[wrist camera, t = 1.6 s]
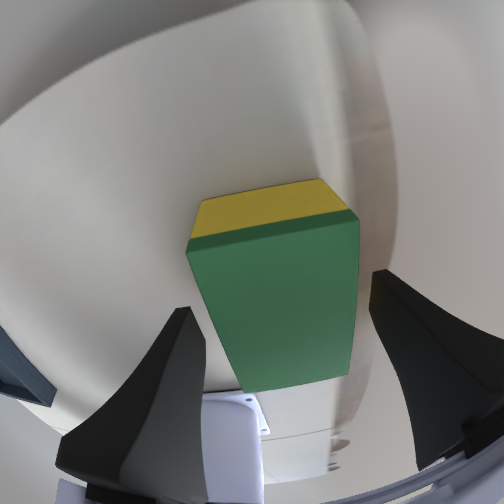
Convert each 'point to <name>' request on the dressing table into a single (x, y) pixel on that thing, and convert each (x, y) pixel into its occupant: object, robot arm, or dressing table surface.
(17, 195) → the dressing table surface
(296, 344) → the sponge
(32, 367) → the tray
